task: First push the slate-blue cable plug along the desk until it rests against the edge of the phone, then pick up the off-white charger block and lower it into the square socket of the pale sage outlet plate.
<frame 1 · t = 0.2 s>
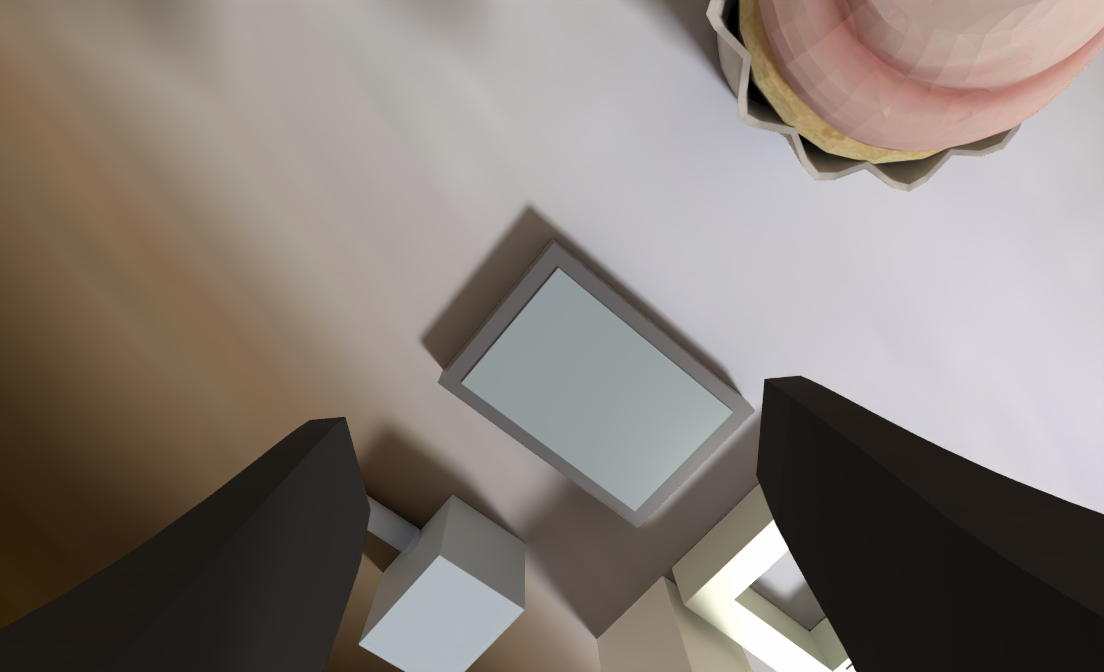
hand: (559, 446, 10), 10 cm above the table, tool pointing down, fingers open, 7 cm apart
phone: (595, 383, 21), on the table
cupcake: (811, 26, 18), on the table
charger: (664, 632, 25), on the table
cable plug: (453, 558, 23), on the table
outlet plate: (846, 580, 24), on the table
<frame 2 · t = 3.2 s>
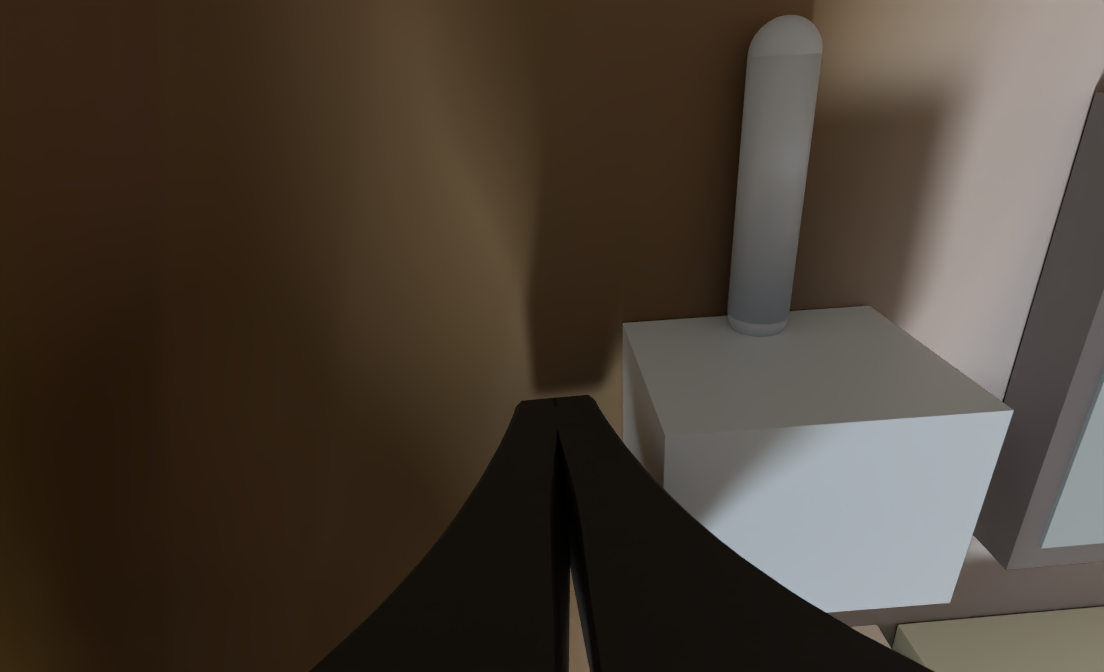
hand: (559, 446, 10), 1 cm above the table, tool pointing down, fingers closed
cable plug: (738, 397, 11), on the table, touching gripper
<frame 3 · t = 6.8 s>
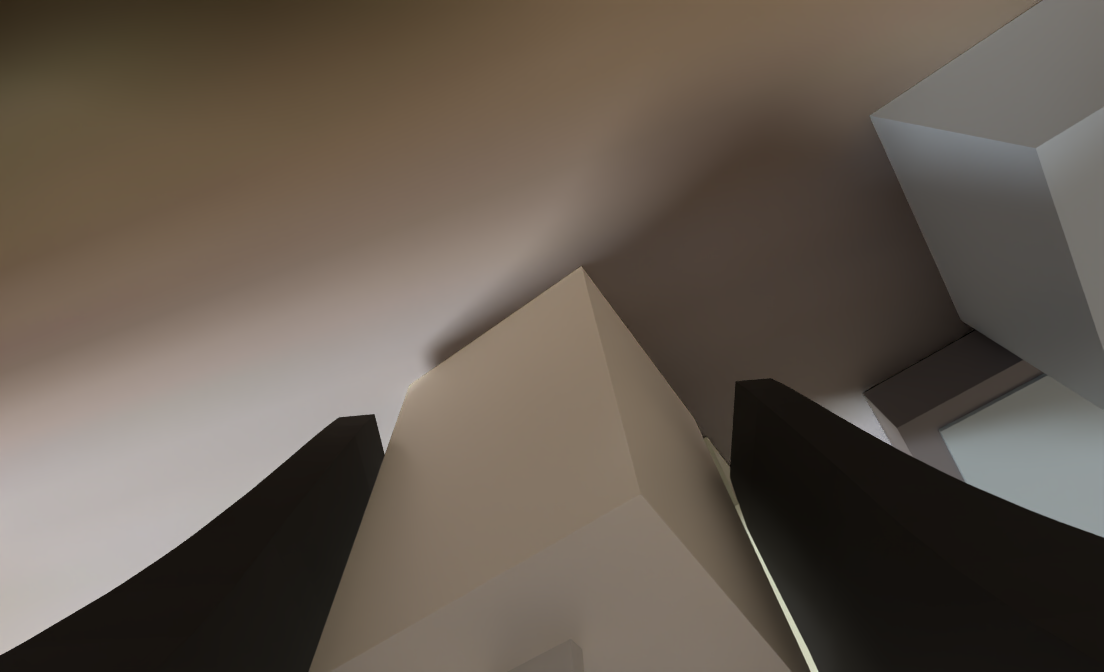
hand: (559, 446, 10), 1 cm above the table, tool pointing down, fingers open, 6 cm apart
charger: (555, 401, 12), on the table
cable plug: (1018, 165, 10), on the table
outlet plate: (576, 662, 15), on the table
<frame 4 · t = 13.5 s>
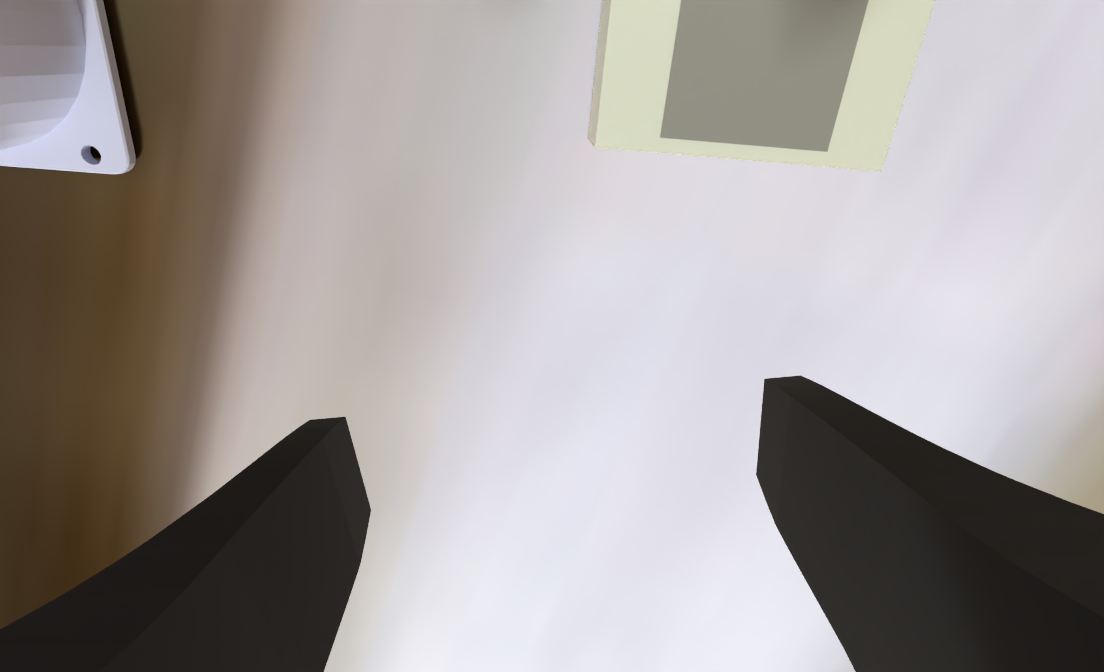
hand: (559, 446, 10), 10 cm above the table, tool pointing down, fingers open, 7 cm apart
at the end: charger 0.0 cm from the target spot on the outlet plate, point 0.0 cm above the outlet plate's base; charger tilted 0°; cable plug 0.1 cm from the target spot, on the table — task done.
